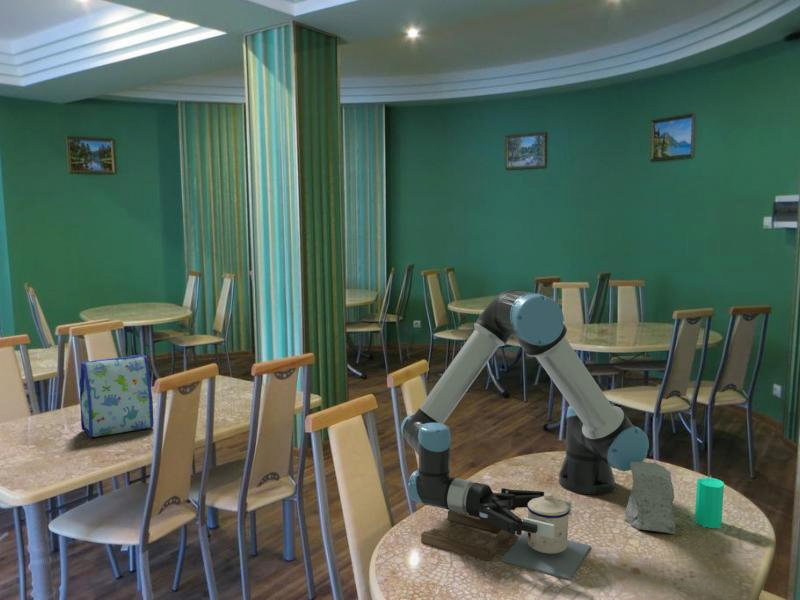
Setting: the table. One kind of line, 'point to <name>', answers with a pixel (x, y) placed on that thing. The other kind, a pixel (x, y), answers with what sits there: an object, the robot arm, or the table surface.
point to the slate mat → (547, 558)
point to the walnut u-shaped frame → (465, 547)
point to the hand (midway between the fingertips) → (562, 519)
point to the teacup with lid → (550, 513)
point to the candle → (709, 502)
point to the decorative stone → (651, 498)
